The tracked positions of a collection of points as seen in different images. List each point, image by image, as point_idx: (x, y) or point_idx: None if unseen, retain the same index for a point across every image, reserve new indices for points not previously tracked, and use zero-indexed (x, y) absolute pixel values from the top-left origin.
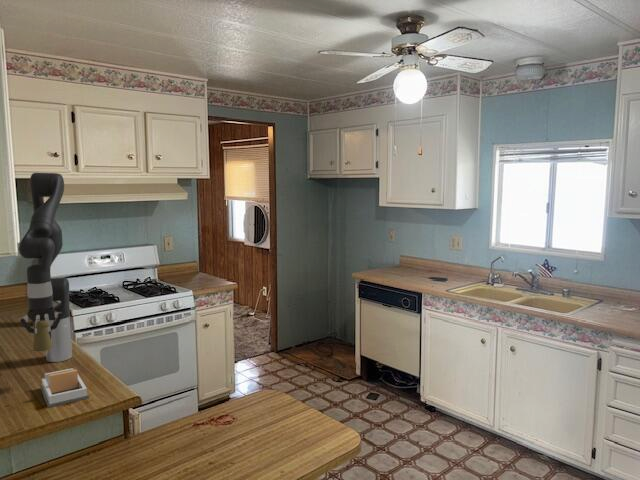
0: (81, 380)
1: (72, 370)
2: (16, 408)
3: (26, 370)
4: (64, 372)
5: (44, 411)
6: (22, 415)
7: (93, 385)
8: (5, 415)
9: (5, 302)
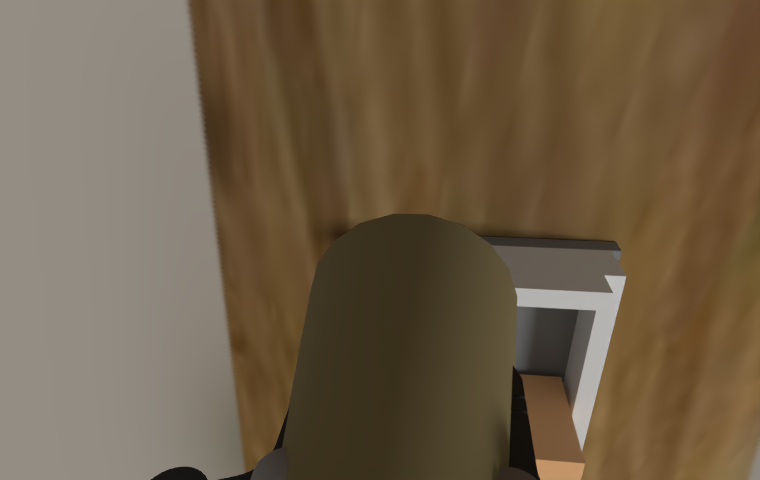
0: (586, 424)
1: (556, 465)
2: (275, 390)
3: None
4: None
5: None
6: None
7: (649, 358)
8: (239, 423)
9: None
